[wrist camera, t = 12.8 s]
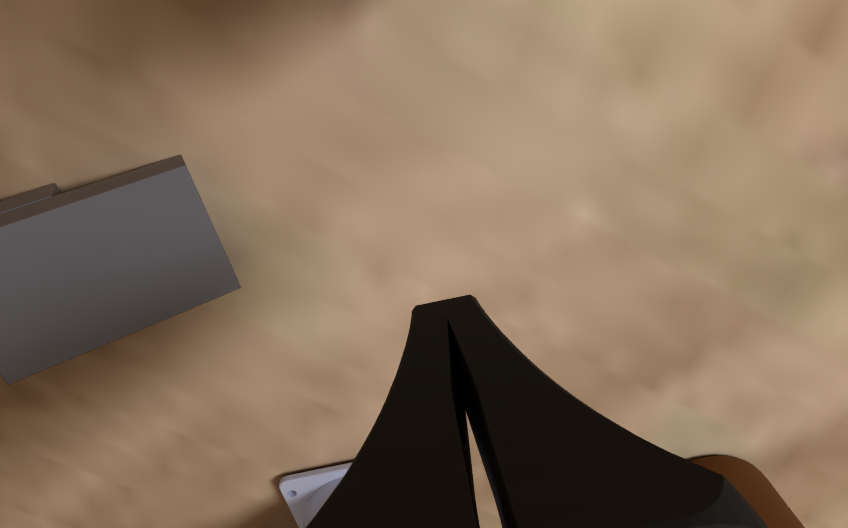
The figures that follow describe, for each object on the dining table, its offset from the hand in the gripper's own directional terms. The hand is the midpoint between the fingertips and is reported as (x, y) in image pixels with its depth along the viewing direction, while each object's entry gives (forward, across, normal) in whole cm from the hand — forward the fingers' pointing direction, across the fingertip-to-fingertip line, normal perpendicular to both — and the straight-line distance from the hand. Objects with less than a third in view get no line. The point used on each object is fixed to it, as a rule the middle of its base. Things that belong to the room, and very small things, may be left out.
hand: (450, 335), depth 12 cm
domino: (+9, +8, 0) cm, 12 cm away
